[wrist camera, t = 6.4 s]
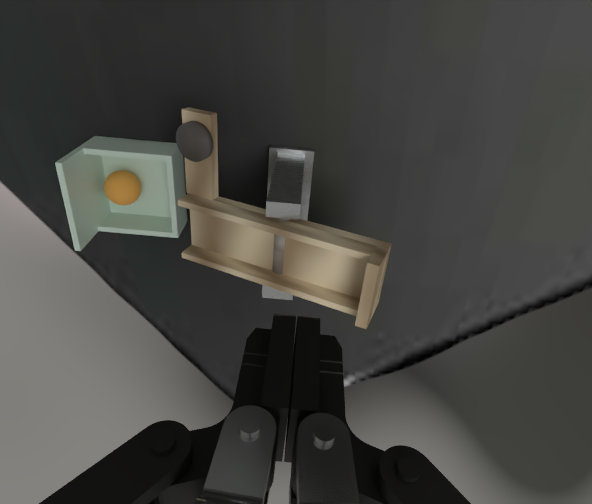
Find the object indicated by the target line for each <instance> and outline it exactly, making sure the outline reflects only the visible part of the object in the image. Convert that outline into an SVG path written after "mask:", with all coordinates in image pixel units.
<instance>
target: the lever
mask: <svg viewBox="0 0 592 504" xmlns="http://www.w3.org/2000/svg"><path fill="white" fill-rule="evenodd" d="M176 143H177V146H178V148H179V150H180V152H181V153H182V155H183V156H184V157H185V173H186V189H187V193H189V194H187V195H185V196H183V197H182V198H180V199H178V206H181V207H184V208H187V209H190V221H191V238H192V245H191V246H190V247H188V248H187V249H186V250H184V251H183V252H182V258H185V259H188V260H191V261H194V262H197V263H200V264H203V265H206V266H208V267H211V268H214V269H217V270H220V271H223V272H226V273H229V274H232V275H235V276H238V277H241V278H244V279H247V280H250V281H253V282H256V283H259V284H262V285H265V286H268V287H271V288H274V289H277V290H280V291H283V292H286V293H289V294H292V295H295V296H298V297H301V298H304V299H307V300H310V301H313V302H316V303H318V304H321V305H324V306H327V307H330V308H333V309H336V310H339V311H342V312H345V313H348V314H351V315H354V316H357V318H356V323H355V326H358V327H361V328H364V329H366V328H367V326H368V324H369V322H370V320H371V318H372V316H373V313H374V311H375V309H376V307H377V305H378V302H379V297H380V293H381V289H382V284H383V280H384V275H385V271H386V266H387V262H388V257H389V253H390V248H391V244H390V243H387V242H383V241H379V240H376V239H372V238H369V237H365V236H361V235H358V234H354V233H350V232H347V231H343V230H339V229H336V228H332V227H328V226H325V225H321V224H317V223H314V222H310V221H307V220H303V219H299V220H297V219H285V218H274V217H266V209H263V208H259V207H256V206H252V205H248V204H245V203H241V202H237V201H234V200H230V199H226V198H223V197H219V196H218V146H217V113H214V112H209V111H204V110H200V109H195V108H190V107H188V108H184V109H182V125H180V126H179V128H178V129H177V132H176Z"/></svg>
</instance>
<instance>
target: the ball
mask: <svg viewBox="0 0 592 504" xmlns="http://www.w3.org/2000/svg"><path fill="white" fill-rule="evenodd" d="M104 191H105V194H106V196H107V197H108V199H109V200H111V201H112V202H113V203H115V204H118V205H129V204H132V203H134V202H135V201H136V200H137V199H138V198H139V196H140V194H141V183H140V181H139V179H138V178H137V177H136V176H135V175H134V174H133V173H131V172H129V171H125V170H119V171H115V172H113V173H111V174H110V175H109V176H108V177H107V178H106V180H105V183H104Z"/></svg>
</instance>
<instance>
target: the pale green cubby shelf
mask: <svg viewBox="0 0 592 504" xmlns="http://www.w3.org/2000/svg"><path fill="white" fill-rule="evenodd" d="M55 165H56V169H57V174H58V178H59V182H60V187H61V191H62V196H63V200H64V204H65V209H66V213H67V218H68V222H69V226H70V231H71V235H72V240H73V244H74V248H75V251H81V250H82V249H83V248H84V247H85V246H86V245H87V243H88V242H89V241H90V240H91V239H92V238H93V237H94V236H95V234H96V233H97V232H98V231H104V232H115V233H127V234H138V235H149V236H161V237H172V238H178V237H179V235H180V234H181V232H182V230H183V228H184V226H185V225H186V223H187V208H184V207H181V206H178V199H180V198H182V197H183V196H185V195H186V192H185V176H184V160H183V155H182V153H181V152H180V150H179V148H178V146H177V143H170V142H159V141H148V140H136V139H125V138H114V137H102V136H94V137H92V138H91V139H89V140H88V141H86V142H85V143H83V144H82V145H80V146H79V147H77V148H76V149H75V150H73V151H72V152H70V153H69V154H67V155H66V156H64V157H63V158H61V159H60V160H58V161H57V162H55ZM119 170H125V171H129V172H131V173H133V174H134V175H135V176H136V177H137V178H138V179H139V181H140V183H141V194H140V196H139V198H138V199H137V200H136V201H135V202H134V203H132V204H129V205H118V204H115V203H113V202H112V201H111V200H109V199H108V197H107V196H106V194H105V191H104V183H105V180H106V178H107V177H108V176H109V175H110V174H111V173H113V172H115V171H119Z"/></svg>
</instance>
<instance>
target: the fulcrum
mask: <svg viewBox="0 0 592 504" xmlns="http://www.w3.org/2000/svg"><path fill="white" fill-rule="evenodd" d="M313 159H314V149H311V148H300V147H288V146H277V145H270V147H269V168H268V190H267V201H266V217H274V218H285V219H297V220H299V219H303V220H307V219H308V209H309V199H310V189H311V179H312V169H313ZM262 297H263V298H274V299H286V300H292V297H293V295H292V294H289V293H286V292H283V291H280V290H277V289H274V288H271V287H268V286H265V285H263V289H262Z"/></svg>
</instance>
